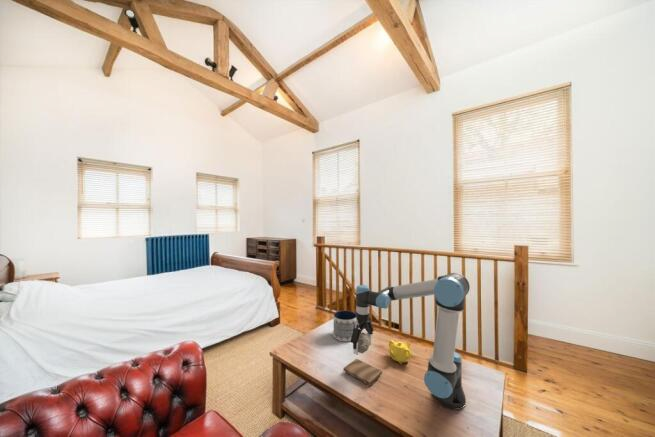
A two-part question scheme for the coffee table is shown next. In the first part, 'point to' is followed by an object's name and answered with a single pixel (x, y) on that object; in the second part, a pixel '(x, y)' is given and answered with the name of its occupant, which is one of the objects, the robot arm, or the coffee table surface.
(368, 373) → the stand
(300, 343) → the coffee table surface
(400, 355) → the teapot
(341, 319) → the planter
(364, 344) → the stone
